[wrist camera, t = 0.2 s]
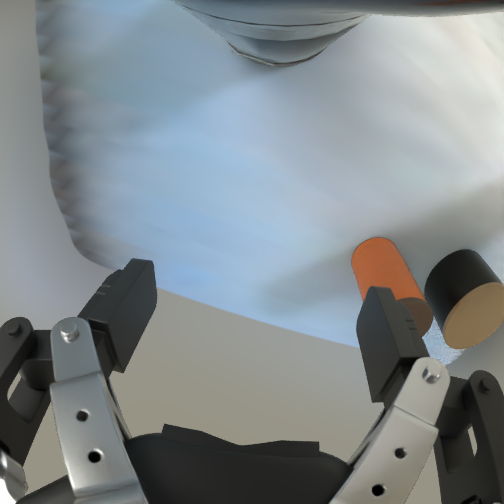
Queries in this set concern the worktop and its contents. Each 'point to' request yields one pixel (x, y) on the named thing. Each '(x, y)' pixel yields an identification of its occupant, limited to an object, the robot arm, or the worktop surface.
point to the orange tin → (390, 278)
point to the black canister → (465, 299)
